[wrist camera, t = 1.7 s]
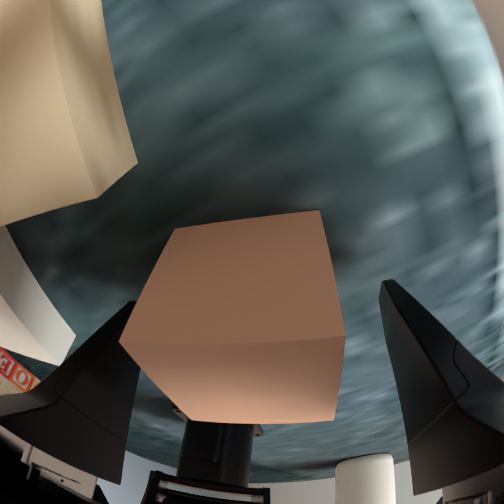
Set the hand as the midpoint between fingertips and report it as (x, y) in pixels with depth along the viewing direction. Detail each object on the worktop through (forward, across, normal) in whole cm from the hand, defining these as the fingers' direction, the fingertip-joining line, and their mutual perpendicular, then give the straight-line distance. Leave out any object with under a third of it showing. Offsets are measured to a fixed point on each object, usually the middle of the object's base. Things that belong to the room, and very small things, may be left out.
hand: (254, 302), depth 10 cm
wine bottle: (+2, -10, +42) cm, 43 cm away
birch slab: (+2, +8, -10) cm, 13 cm away
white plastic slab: (+2, +17, 0) cm, 17 cm away
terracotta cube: (+1, 0, 0) cm, 1 cm away
